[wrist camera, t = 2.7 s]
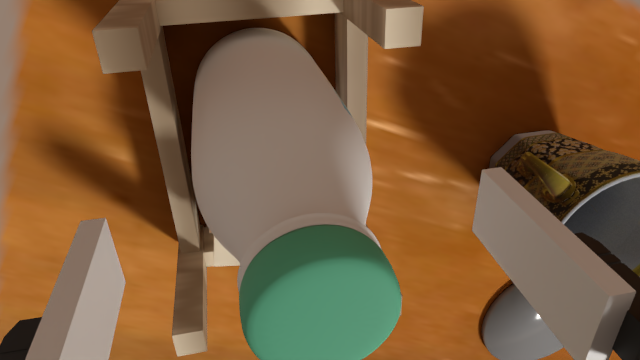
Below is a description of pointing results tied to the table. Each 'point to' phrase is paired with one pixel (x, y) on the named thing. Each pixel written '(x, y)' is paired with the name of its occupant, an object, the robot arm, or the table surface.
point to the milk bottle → (290, 200)
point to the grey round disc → (517, 329)
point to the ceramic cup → (580, 187)
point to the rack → (152, 60)
